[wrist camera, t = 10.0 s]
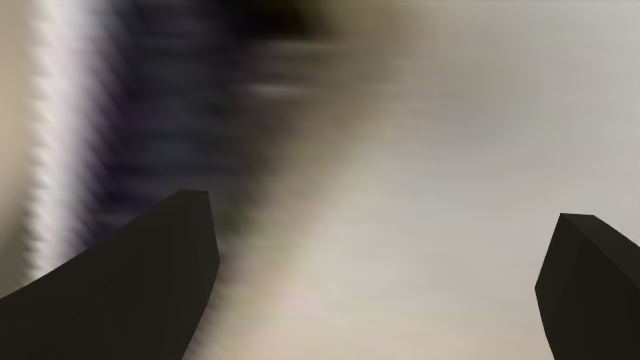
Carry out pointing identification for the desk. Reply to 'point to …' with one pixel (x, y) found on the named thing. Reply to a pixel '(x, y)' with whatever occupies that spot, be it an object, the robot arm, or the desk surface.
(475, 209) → the desk surface
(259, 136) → the desk surface
